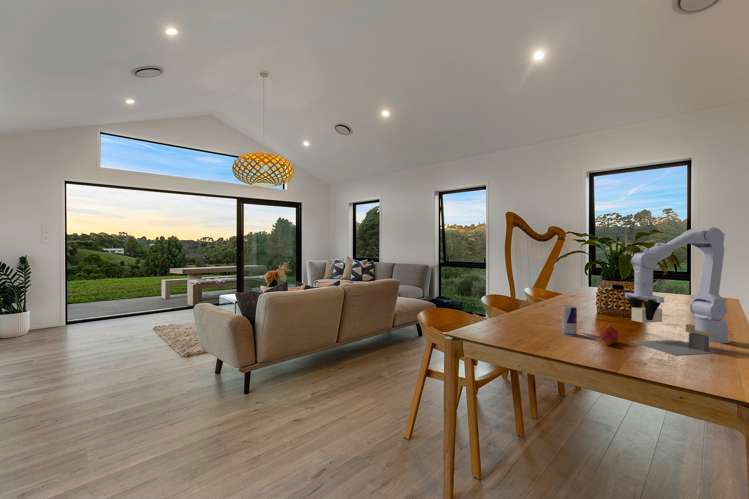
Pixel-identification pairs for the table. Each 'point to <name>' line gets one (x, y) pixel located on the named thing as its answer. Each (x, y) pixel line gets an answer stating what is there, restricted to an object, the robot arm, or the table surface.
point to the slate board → (681, 345)
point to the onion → (609, 335)
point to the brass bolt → (697, 331)
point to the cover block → (640, 315)
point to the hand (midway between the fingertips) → (643, 318)
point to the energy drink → (569, 320)
